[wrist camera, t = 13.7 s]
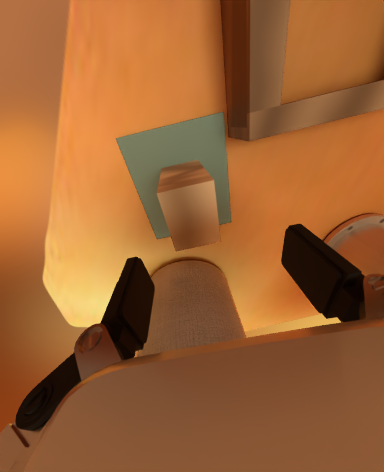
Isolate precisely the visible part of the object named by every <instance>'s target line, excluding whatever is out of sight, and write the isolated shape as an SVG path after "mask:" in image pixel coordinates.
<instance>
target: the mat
mask: <svg viewBox="0 0 384 472" xmlns="http://www.w3.org/2000/svg"><path fill="white" fill-rule="evenodd" d="M116 140H117V143H118V145H119V148H120V150H121V153H122V155H123V157H124V160H125V162H126V165H127V167H128V170H129V172H130V175H131V177H132V179H133V182H134V184H135V187H136V189H137V192H138V194H139V197H140V199H141V201H142V204H143V206H144V209H145V211H146V214H147V216H148V219H149V221H150V223H151V226H152V228H153V231H154V233H155V236H156V238H157V239H161V238H165V237H170V236H171V235H170V232H169V229H168V226H167V223H166V220H165V217H164V214H163V211H162V208H161V205H160V202H159V199H158V196H157V189H158V184H159V179H160V174H161V169H162V168H164V167H168V166H172V165H177V164H181V163H185V162H190V161H194V160H198V161H199V162H200V163H201V165H202V166H203V167H204V168H205V170H206V171H207V172H208V173H209V174H210V176H211V177H212V178H213V179H214V184H215V193H216V202H217V211H218V220H219V225H221V224H226V223H230V222H231V211H230V197H229V182H228V168H227V153H226V139H225V124H224V112H221V113H217V114H213V115H209V116H205V117H200V118H196V119H192V120H188V121H184V122H180V123H176V124H172V125H168V126H164V127H160V128H156V129H152V130H148V131H144V132H140V133H136V134H132V135H128V136H124V137H120V138H116Z"/></svg>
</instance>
